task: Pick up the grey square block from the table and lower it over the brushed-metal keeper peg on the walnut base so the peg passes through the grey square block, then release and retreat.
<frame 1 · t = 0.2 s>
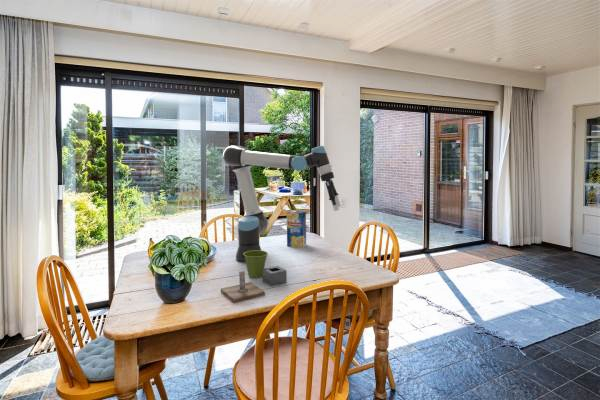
hand: (337, 208, 204), 28 cm above the table, tool tilted 20°, fingers open, 13 cm apart
grey square block: (274, 282, 166), on the table
beverage box: (296, 245, 232), on the table
keeper: (242, 293, 153), on the table
plant pot: (256, 276, 175), on the table
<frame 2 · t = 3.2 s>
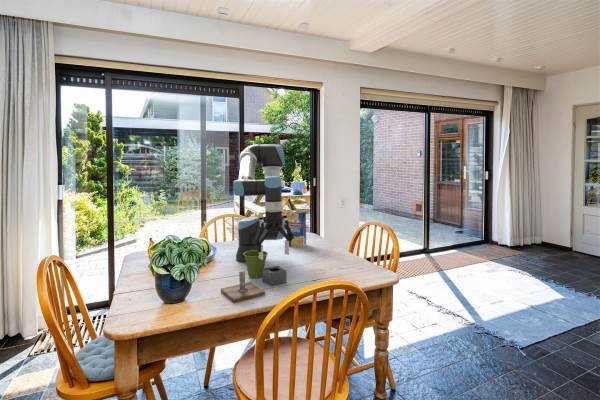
hand: (274, 256, 164), 12 cm above the table, tool pointing down, fingers open, 13 cm apart
nothing on the table moved.
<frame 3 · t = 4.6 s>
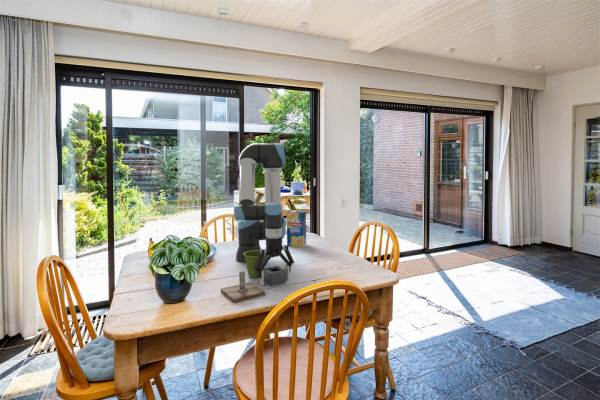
hand: (274, 281, 166), 0 cm above the table, tool pointing down, fingers open, 13 cm apart
nothing on the table moved.
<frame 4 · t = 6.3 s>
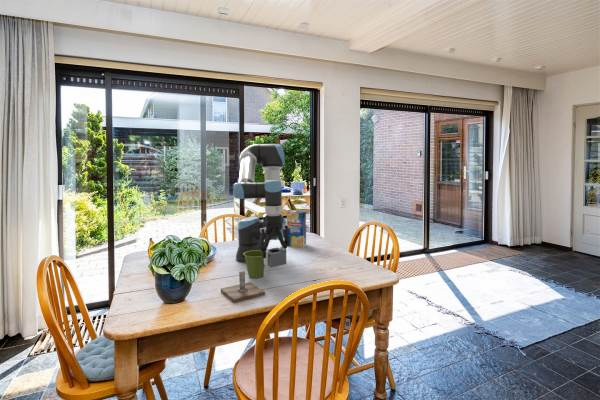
hand: (274, 262, 166), 9 cm above the table, tool pointing down, fingers closed on grey square block, 8 cm apart
grey square block: (274, 263, 166), point 9 cm above the table, touching gripper
everything else where it was.
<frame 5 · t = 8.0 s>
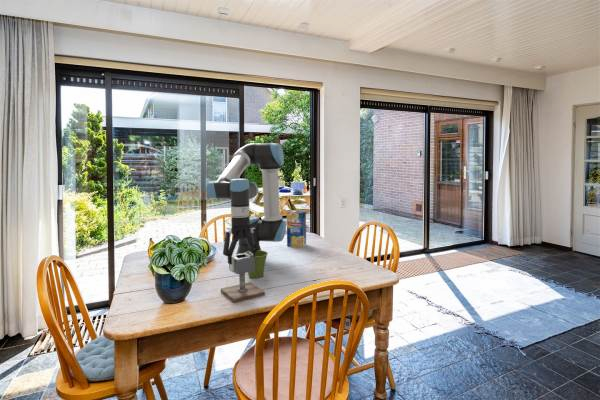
hand: (241, 269, 151), 11 cm above the table, tool pointing down, fingers closed on grey square block, 8 cm apart
grey square block: (241, 270, 151), point 10 cm above the table, touching gripper
everything else where it was.
when the fingers open (2 cm above the table, at t = 10.2 s): grey square block stays where it is, resting on keeper.
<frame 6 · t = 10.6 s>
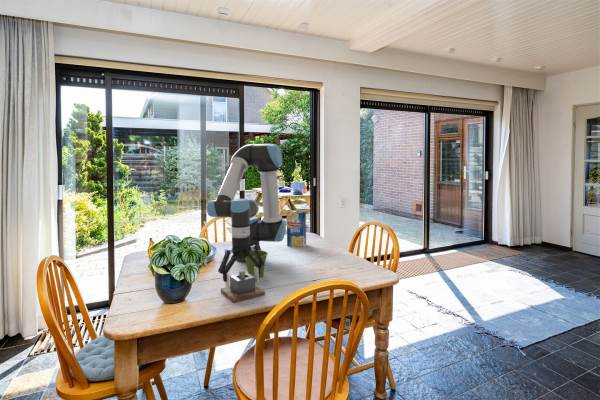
hand: (242, 285, 153), 4 cm above the table, tool pointing down, fingers open, 13 cm apart
grey square block: (242, 290, 153), point 1 cm above the table, touching keeper
everything else where it was.
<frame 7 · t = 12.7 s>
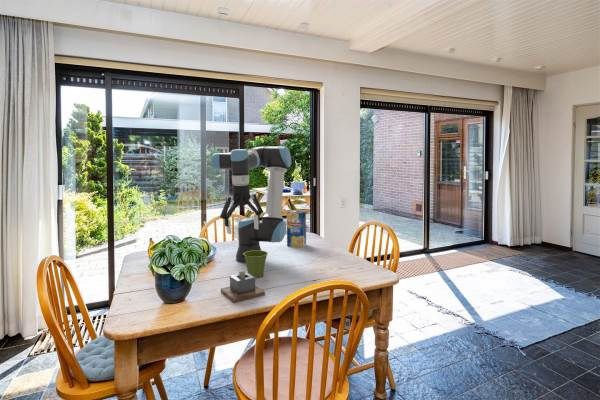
hand: (243, 231, 163), 24 cm above the table, tool pointing down, fingers open, 13 cm apart
nothing on the table moved.
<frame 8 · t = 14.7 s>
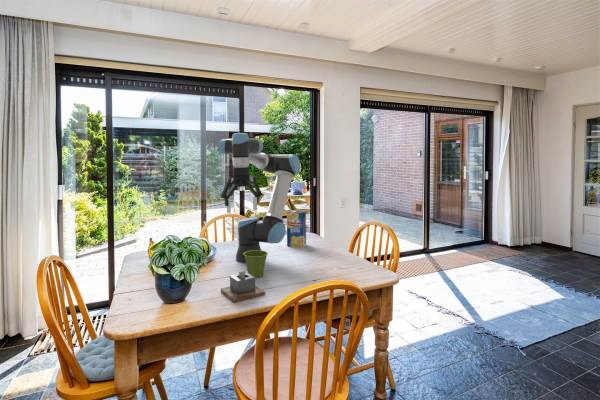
hand: (242, 211, 171), 32 cm above the table, tool pointing down, fingers open, 13 cm apart
nothing on the table moved.
at the end: grey square block 0.1 cm off-centre on the keeper, point 1.5 cm above the keeper's base; the gripper is holding nothing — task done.
